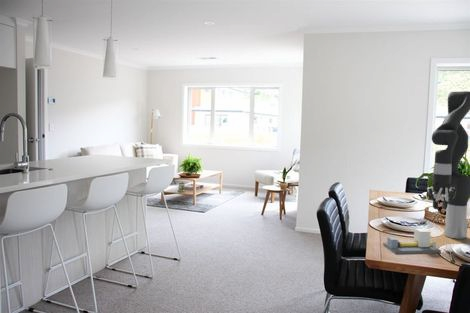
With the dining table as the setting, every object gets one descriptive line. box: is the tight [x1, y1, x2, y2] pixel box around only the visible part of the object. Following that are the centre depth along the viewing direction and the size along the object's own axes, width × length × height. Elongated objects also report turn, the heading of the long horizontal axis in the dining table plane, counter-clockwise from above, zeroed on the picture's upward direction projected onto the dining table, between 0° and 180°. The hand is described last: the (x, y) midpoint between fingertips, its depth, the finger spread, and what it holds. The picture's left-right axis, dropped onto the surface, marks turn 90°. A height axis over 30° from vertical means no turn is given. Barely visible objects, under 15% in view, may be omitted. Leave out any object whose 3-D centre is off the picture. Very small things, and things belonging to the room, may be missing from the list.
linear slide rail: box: [382, 236, 442, 255], centre depth 193 cm, size 22×12×5 cm, turn 96°
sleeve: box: [413, 228, 431, 247], centre depth 193 cm, size 5×5×7 cm
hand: (439, 208), depth 193 cm, fingers open, 3 cm apart
